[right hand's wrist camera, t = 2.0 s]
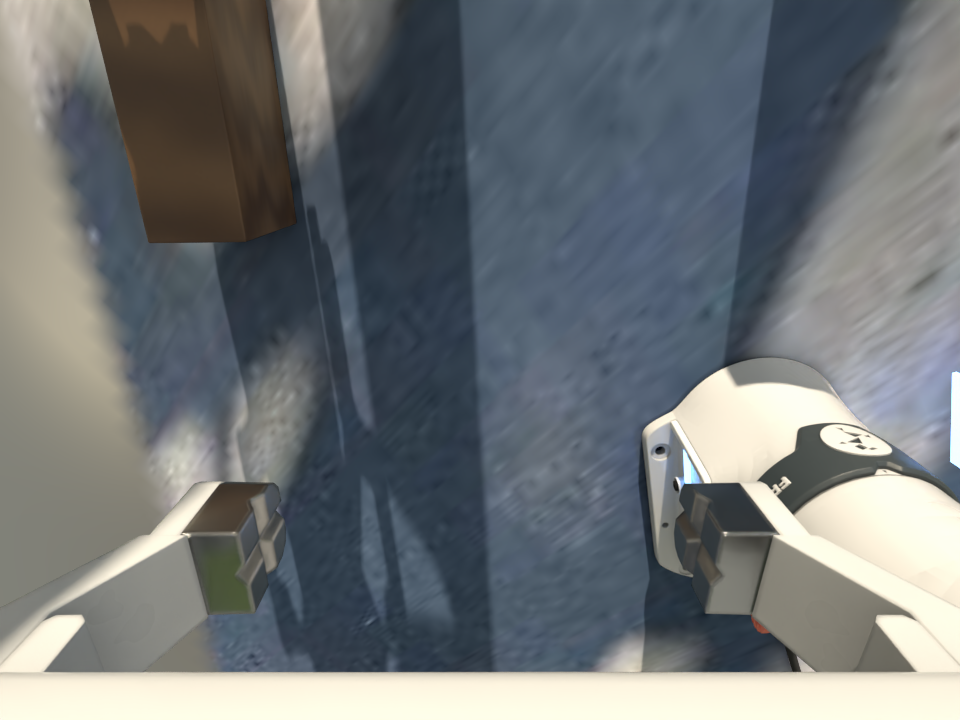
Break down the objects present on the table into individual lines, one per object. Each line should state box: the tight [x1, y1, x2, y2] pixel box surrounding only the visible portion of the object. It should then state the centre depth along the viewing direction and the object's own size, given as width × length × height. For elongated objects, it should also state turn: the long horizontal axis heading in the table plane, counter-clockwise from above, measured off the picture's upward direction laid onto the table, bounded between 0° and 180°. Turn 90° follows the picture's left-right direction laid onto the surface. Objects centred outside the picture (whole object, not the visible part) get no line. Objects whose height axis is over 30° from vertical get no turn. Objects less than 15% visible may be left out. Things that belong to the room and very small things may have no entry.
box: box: [89, 0, 296, 243], centre depth 30 cm, size 24×6×9 cm, turn 1°
